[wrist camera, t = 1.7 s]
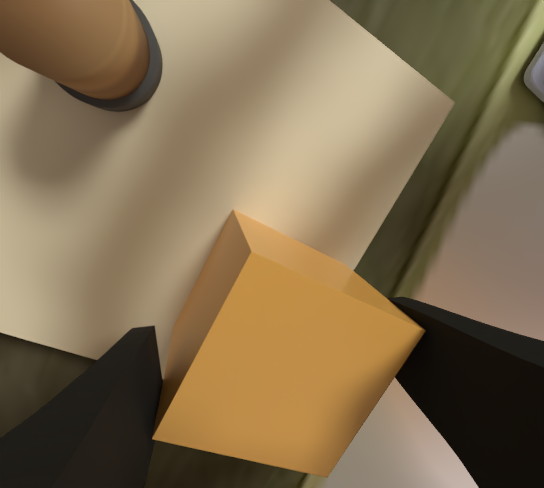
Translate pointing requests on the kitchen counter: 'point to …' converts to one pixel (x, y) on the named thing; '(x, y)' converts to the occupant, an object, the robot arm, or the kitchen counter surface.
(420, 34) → the kitchen counter surface
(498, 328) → the robot arm
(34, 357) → the kitchen counter surface
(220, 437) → the tilted amber cube
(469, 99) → the kitchen counter surface
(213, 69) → the board
